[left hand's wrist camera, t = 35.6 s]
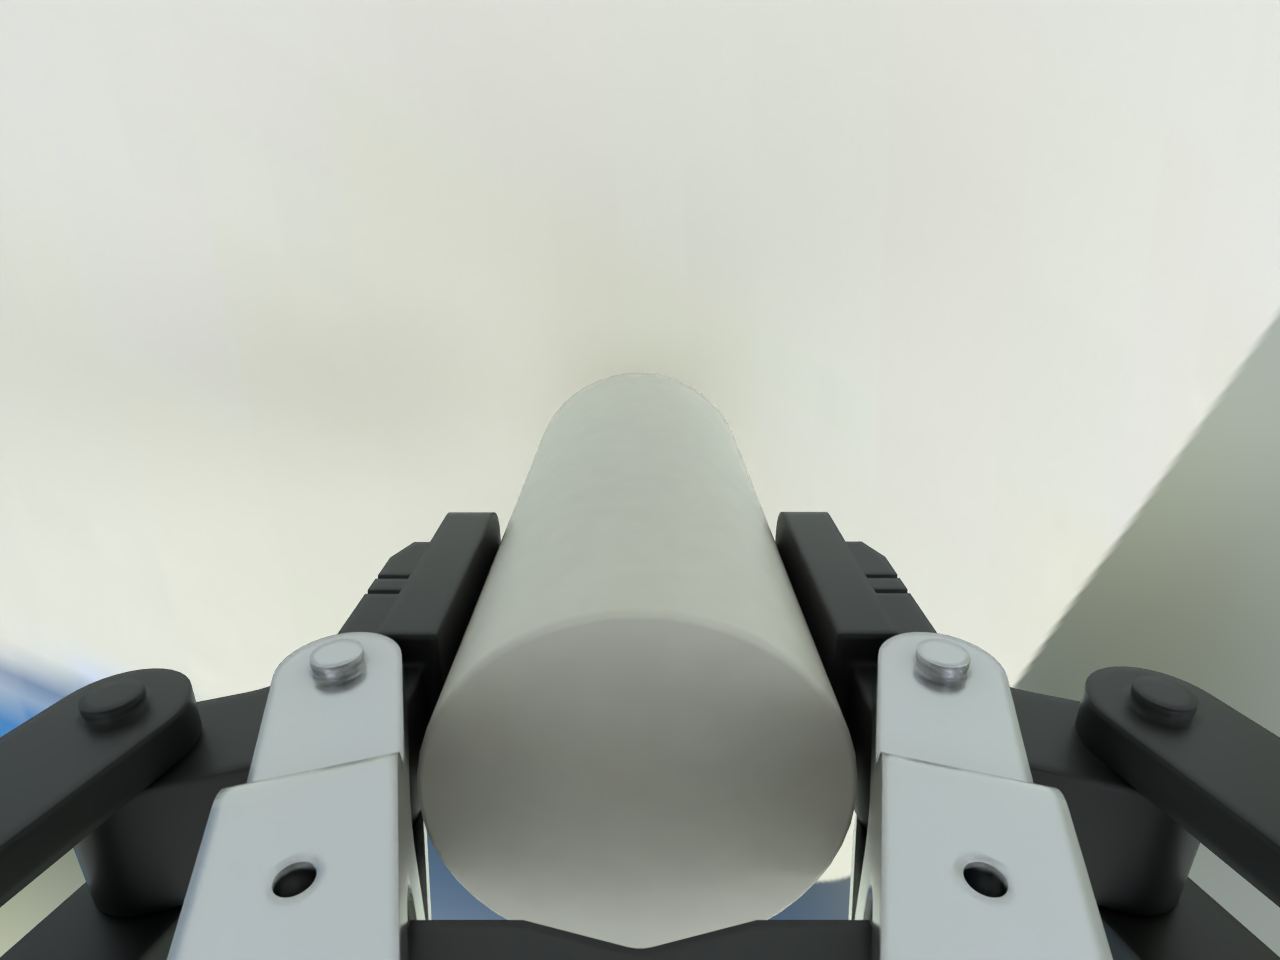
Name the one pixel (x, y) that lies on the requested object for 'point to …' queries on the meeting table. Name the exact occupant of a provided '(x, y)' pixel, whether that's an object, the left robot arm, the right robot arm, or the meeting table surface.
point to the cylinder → (637, 691)
